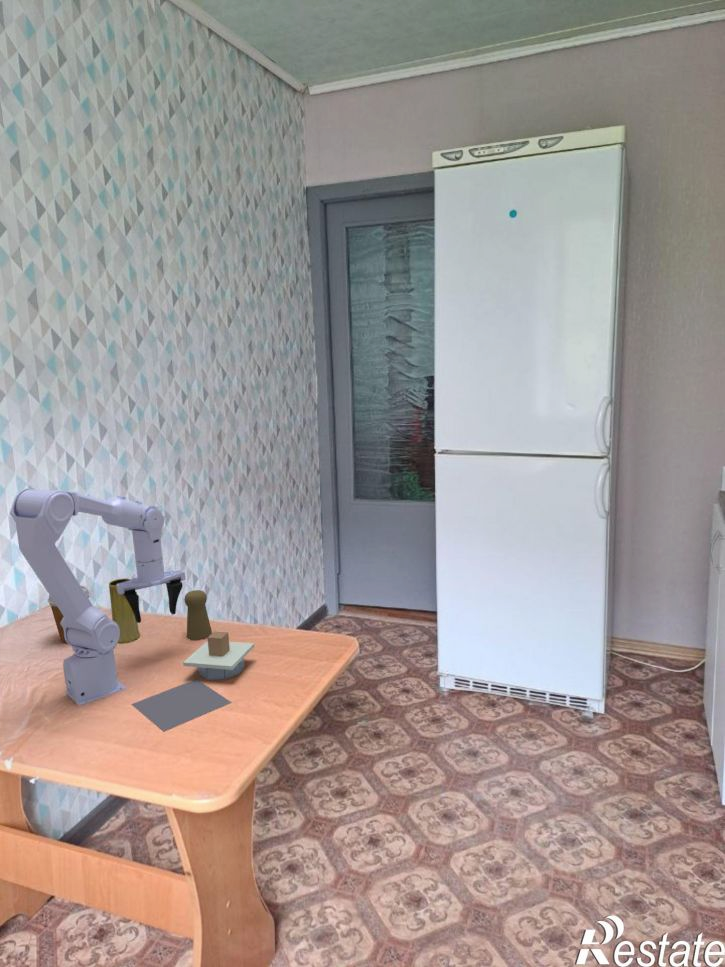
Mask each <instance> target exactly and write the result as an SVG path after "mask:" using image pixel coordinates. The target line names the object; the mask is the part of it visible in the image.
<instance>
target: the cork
mask: <svg viewBox="0 0 725 967" xmlns="http://www.w3.org/2000/svg"><path fill="white" fill-rule="evenodd" d="M207 600H208V597H207V593H206V592H205V591H203V590H200V589H199V590H198V589H197V590H196V589H195V590H191V591H188V592H187V593H186V594H185V596H184V603H185V605H186V606H187V612H186V613H187V616H186V617H187V618H186V622H187V623H186V638H188V640H189V639H190V641H201V639H202V640H205V638H206V639H207V637H209V636H210V635H211V634H212V633H213V631H212V627H211V622H210V619H209V615H208V610H207V606H206V603H207Z"/></svg>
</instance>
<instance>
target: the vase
mask: <svg viewBox="0 0 725 967" xmlns="http://www.w3.org/2000/svg"><path fill="white" fill-rule="evenodd" d="M129 580H132V579H130V578H117V579H114V580H111V581H109V582H108V589H109V598H110V599H109V600H110V607H111V608H110V609H111V620H112V621H114V622H116V623H117V624H118V626H119V629H120V637H119V641H118V643H117V644H119V643H120V644H125V643H130V642H133V641H136V640H137V639H139V638H140V637H141V633H140V631H139V625H138V624H139V623H137V621H136V620H135V616H134V613H133V611H132V608H131V606H130V604H129V603H128V601H127V599H126V598H125V596H124V595H123V594H119V593H118V592H117V584H118V583H122V582H126V581H129Z"/></svg>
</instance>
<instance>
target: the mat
mask: <svg viewBox="0 0 725 967" xmlns="http://www.w3.org/2000/svg"><path fill="white" fill-rule="evenodd" d="M230 704H232V701H231V700H229V699H227V698H226V697H225V696H223V695H222V694H220V693H219V692H216V691H215V690H214V689H212V688H211V687H210V686H208V685H206V684H205V683H204V682H202V681H200V680H199V679H197V678H195V679H193V680H189V681H187V682H185V683H183V684H180V685H177V686H175V687H172V688H170V689H166V690H164V691H161V692H159V693H157V694H154V695H151V696H149V697H146V698H144V699H141V700H139V701H136V702H134V703H133V702H132V703H131V706H133V707H134V708H135V709H136V710H137V711H138V712H140V714H142V715H143V716H145V717H146V718H147V719H148V720H149V721H150V722H151V723H153V724H154V726H156V727H157V728H158V729H159V730H161V731H162V732H164V733H165V732H167V731H169V730H172V729H174V728H177V727H178V726H181V725H183V724H186V723H188V722H190V721H192V720H195V719H197V718H200V717H202V716H205V715H207V714H209V713H211V712H214V711H217V710H218V709H221V708H222V707H225V706H227V705H230Z"/></svg>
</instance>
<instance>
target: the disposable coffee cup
mask: <svg viewBox="0 0 725 967" xmlns="http://www.w3.org/2000/svg"><path fill="white" fill-rule="evenodd" d="M80 586H81V587H82V589H83V591H84V592H85V594H86V595H87V597H88V599H89V598H90V595H91V592H90V591H89V589H88V587H87V586H86V585H80ZM47 603H48V604H49V605H50V609H51V611H52V615H53V618H54V623H55V624H56V628H57V632H58V635H59V639H60V642H61V641H62V642H61V643H63V642H65V643H64V644H68V643H67V642H66V640H65V637H64V630H63V627H62V626H61V624H60V622H61V620H62V619H63V617H64V616H63V614H62V613H61V611H60V610H59V608H58V607H57V605H56V604H55V602H54V601H53V599H52V598H51V596H50V595H49V594H48V598H47Z"/></svg>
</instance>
